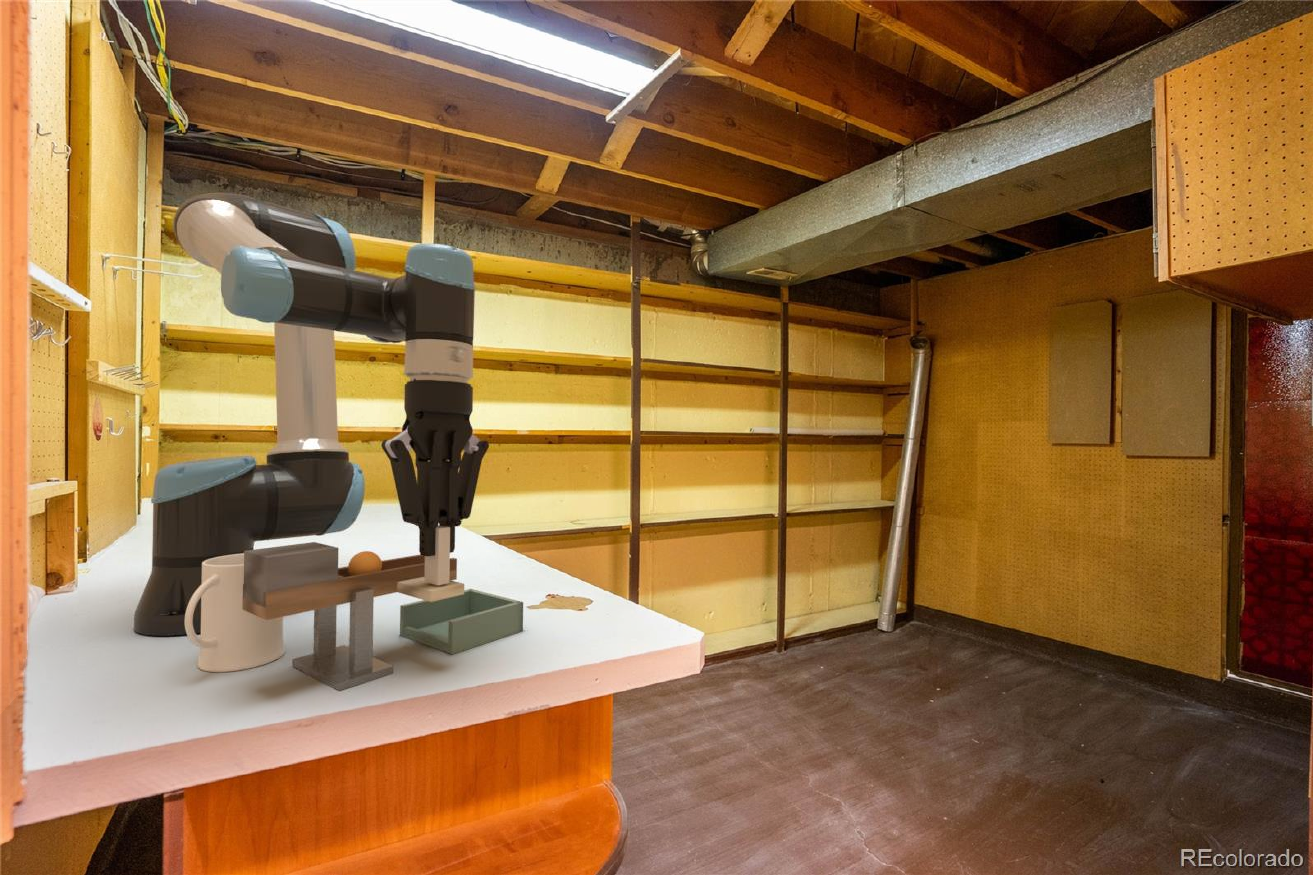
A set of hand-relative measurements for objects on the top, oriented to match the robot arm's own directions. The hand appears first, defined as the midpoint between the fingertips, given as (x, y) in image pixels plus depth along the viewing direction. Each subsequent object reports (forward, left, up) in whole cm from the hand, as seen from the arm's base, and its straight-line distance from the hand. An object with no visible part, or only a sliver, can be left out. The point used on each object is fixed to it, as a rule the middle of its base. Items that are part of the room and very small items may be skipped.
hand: (436, 582), depth 69 cm
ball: (-8, -4, +1) cm, 9 cm away
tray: (-8, +9, -10) cm, 15 cm away
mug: (-20, -14, -10) cm, 26 cm away
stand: (-8, -7, -10) cm, 14 cm away
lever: (-4, -5, -2) cm, 7 cm away
